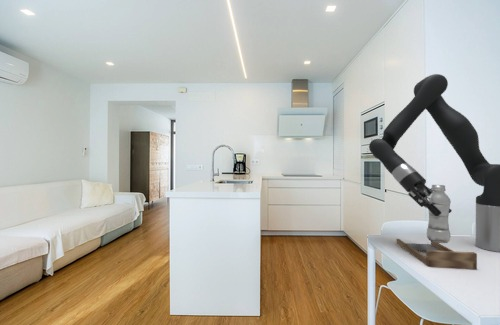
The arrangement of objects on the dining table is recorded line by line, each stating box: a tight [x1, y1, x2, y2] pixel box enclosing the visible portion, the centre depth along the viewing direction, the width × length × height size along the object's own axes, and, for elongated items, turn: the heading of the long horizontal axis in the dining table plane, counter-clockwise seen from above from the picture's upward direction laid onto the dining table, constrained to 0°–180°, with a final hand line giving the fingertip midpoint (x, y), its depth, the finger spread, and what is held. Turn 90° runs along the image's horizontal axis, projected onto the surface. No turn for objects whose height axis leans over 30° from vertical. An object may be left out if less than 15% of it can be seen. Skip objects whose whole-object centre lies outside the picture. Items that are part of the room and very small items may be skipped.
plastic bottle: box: [426, 184, 451, 244], centre depth 83 cm, size 6×7×20 cm
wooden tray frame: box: [396, 238, 478, 270], centre depth 87 cm, size 14×22×5 cm, turn 172°
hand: (444, 213), depth 82 cm, fingers closed on plastic bottle, 6 cm apart
